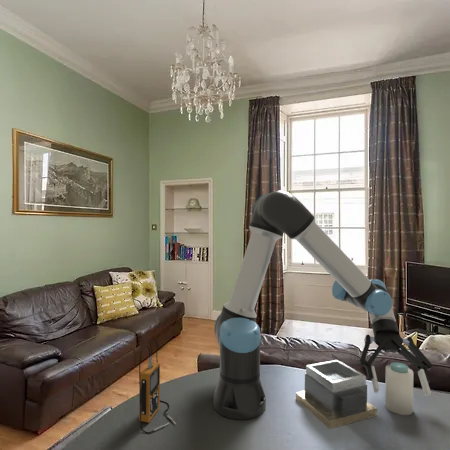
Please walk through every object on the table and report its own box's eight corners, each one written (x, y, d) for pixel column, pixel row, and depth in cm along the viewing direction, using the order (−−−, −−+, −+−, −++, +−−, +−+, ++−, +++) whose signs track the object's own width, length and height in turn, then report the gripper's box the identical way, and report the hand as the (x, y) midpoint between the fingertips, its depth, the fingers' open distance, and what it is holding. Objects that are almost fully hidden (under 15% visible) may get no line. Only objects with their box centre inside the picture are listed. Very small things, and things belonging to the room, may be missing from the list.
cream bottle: (379, 404, 94) (380, 362, 94) (397, 399, 97) (397, 358, 97) (400, 417, 87) (401, 372, 87) (418, 412, 90) (419, 368, 90)
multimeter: (169, 437, 78) (170, 355, 78) (131, 431, 80) (132, 352, 80) (188, 404, 93) (189, 335, 93) (156, 400, 95) (156, 332, 95)
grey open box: (295, 399, 96) (296, 364, 96) (338, 389, 102) (338, 356, 102) (329, 428, 82) (330, 387, 82) (376, 415, 88) (377, 377, 88)
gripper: (420, 330, 106) (444, 400, 91) (342, 326, 110) (353, 393, 95) (428, 319, 101) (455, 391, 86) (346, 315, 104) (358, 384, 90)
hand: (402, 392), depth 90 cm, fingers open, 13 cm apart
